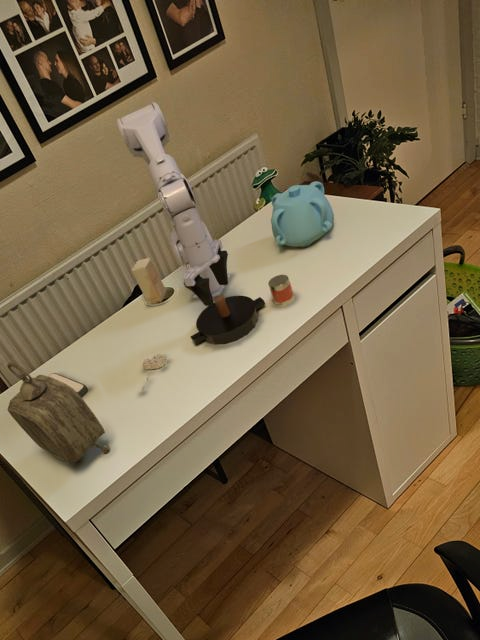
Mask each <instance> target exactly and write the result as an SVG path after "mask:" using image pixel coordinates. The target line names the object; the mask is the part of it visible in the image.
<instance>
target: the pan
mask: <svg viewBox="0 0 480 640" xmlns="http://www.w3.org/2000/svg"><path fill="white" fill-rule="evenodd" d="M253 301H254V302H255V304H256V310H258V309H260V308H261V307H263V306H265V305H266V302H265V300H264V299H263V298H261V297H260V296H259V297H257V298H256V299H253ZM258 322H259V315H258V311H256V312H255V314H254V316H253V318H252V319H251V320H250V321H249V322H248V323H247V324H246V325H244V326H243V327H242V328H240V329H238V330H236V331H234V332H232V333H229V334H226V335H222V336H215V337H213V336H206V335H203V334H201V333H200V332H199V331H198V332H195V333H194V334H192V335H190V339H191V341H192V342H193V344H195V345H196V344H198V343H200V342H202V341H206V343H208V344H212V345H215V346H217V345H218V346H219V345H228V344H231V343H234V342H238V341H239V340H241V339H243V338H244V337H246V336H248V335H249V334H250V333H251V332H252V331H253V330H254V329H255V328H256V326H257V324H258Z"/></svg>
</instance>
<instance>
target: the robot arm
mask: <svg viewBox="0 0 480 640" xmlns="http://www.w3.org/2000/svg"><path fill="white" fill-rule="evenodd" d="M116 126H117V127H118V130H119V132H120V135H121V137H122V139H123V141H124V143H125V145H126V148H127V149H128V150H129V152H130V154H131V155H132V157H133V158H141V159H143V161H144V162H145V163H146V164H147V165H148V173H149V175H150V177H151V179H152V182H153V184H154V186H155V188H156V190H157V197H158V200H159V202H160V204H161V206H162V209H163V211H164V213H165V215H166V217H167V218H168V220H169V221H170V223H171V225H172V227H173V228H172V230H171V232H170V234H169V235H168V236H169V242H170V244H171V247H172V250H173V252H174V255H175V257H176V259H177V261H178V263H179V265H180V266H182V267H186V270H185V274H184V276H183V277H182V281H183V285H184V287H185V288H186V289H187V290H189V291H190V292H192V293H193V296H192V298H193V299H197V298H198V299H199V300H200V301H201V302H202V304H203V305H204V306H205V307H208V306H213V304H214V298H213V297H217V296H220V295H221V293H222V291H223V289H224V287H225V286H228V285H229V278H230V277H231V274H230V273H228V256H229V253H228V251H227V250H222V249H223V248H224V246H223V242H222V240H221V239H213V238H212V235H211V233H210V231H209V229H208V227H207V226H206V225H207V224H206V223H205V222H203V220H202V218H201V216H200V213H199V211H198V208H197V206H198V204H197V199H196V196H195V193H194V190H193V189H192V186H191V184H190V182H189V181H188V179H187V178H186V176H185V175H184V174H183V173H182V172H181V170H180V168H179V166H178V163H177V162H176V161H175V158H174V156H172V155H171V154H168V153H166V151H165V147H166V145H167V144H168V143H169V142H170V134H169V129H168V125H167V123H166V120H165V116H164V114H163V113H162V110H161V108H160V106H159V104H158V103H157V102H155V101H153V102H151V103H150V104H148V105H146V106H144V107H142V108H139V109H137V110H135V111H133V112H131V113H129V114H127V115H124V116H122V117H121V118H120V117H119V118H116Z"/></svg>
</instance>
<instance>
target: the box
mask: <svg viewBox="0 0 480 640" xmlns="http://www.w3.org/2000/svg"><path fill="white" fill-rule="evenodd" d="M130 271H131V273H132V275H133V277H134V279H135V281H136V283H137V285H138V287H139V289H140V291H141V292H142V294H143V297H144V298H145V301H146V302H147V304H149V305H150V304H156V303H160V302H162V301H163V299H164V297H165V295H166V293H167V289H166V287H165V285H164V283H163V281H162V279H161V277H160V275H159V273H158V271H157V269H156V266H155V264H154V263H153V260H152V258H151V257H146V258H142V259H138V260H136V262H135V263H134V264H133V266H132V268H131V270H130Z"/></svg>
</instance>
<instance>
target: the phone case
mask: <svg viewBox="0 0 480 640" xmlns="http://www.w3.org/2000/svg"><path fill="white" fill-rule="evenodd" d="M47 376H48V377H51V378H54V379H56V380H58V381H61V382H63V383H65V384H67V385H68V386H70V387H72V388H73V389H74V390H75V391H76V392H77V393H78V394H79V396H80V397H81V398H82V397H83V396H84V395H85V394H86V393H87V392H88V387H87V386H86V384H84V383H82V382H79V381H77V380H74V379H71V378H69V377H66V376H64V375H62V374H59V373H56V372H53V373H50V374H49V375H47Z"/></svg>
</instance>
